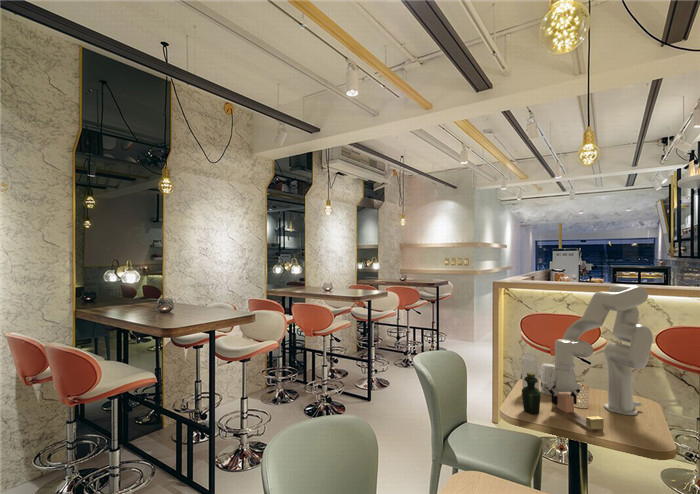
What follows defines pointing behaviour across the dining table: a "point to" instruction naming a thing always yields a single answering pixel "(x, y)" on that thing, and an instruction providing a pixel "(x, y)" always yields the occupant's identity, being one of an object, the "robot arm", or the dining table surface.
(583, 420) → the track
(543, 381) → the supplement can
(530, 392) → the potion bottle
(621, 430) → the dining table surface
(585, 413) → the dining table surface
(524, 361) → the clear plastic bottle
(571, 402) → the block
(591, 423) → the post
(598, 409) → the dining table surface
